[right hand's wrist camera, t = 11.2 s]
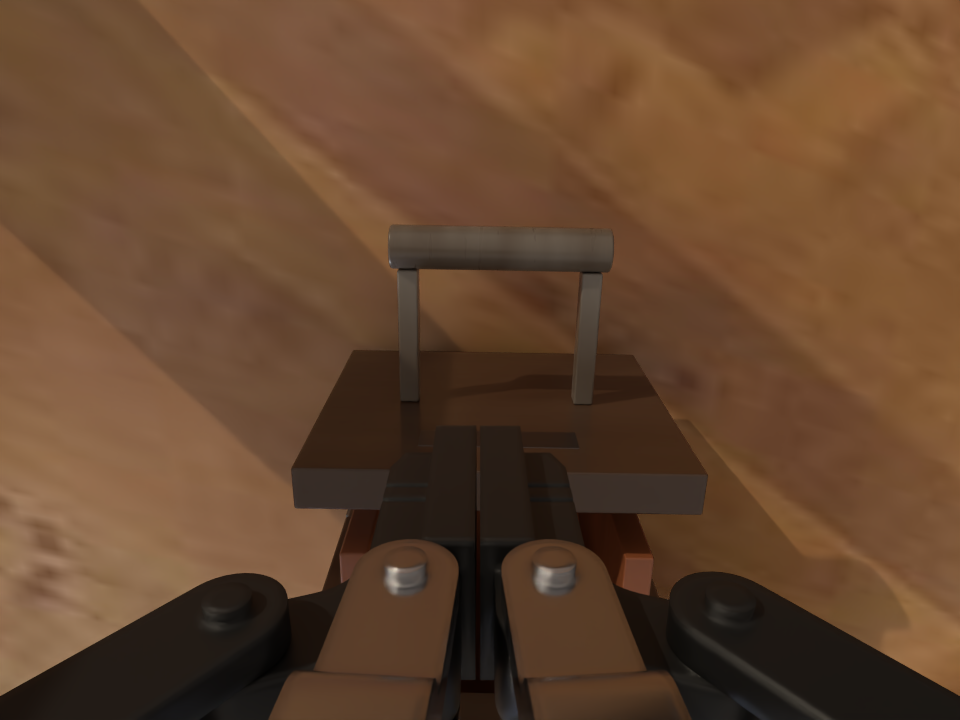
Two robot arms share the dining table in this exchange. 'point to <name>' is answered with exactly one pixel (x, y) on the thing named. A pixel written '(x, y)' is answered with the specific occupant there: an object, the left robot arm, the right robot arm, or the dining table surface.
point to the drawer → (505, 407)
